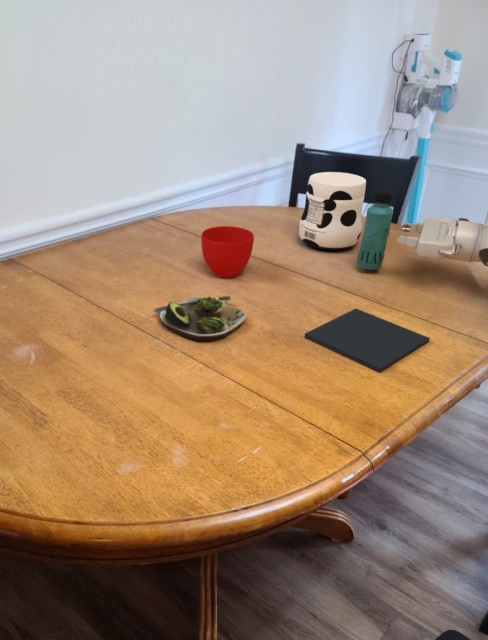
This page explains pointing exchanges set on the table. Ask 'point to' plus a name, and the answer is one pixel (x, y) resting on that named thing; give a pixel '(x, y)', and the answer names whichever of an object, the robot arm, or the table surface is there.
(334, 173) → the milk container
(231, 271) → the ceramic cup
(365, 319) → the mat
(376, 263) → the beverage bottle
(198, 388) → the table surface
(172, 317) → the salad plate
